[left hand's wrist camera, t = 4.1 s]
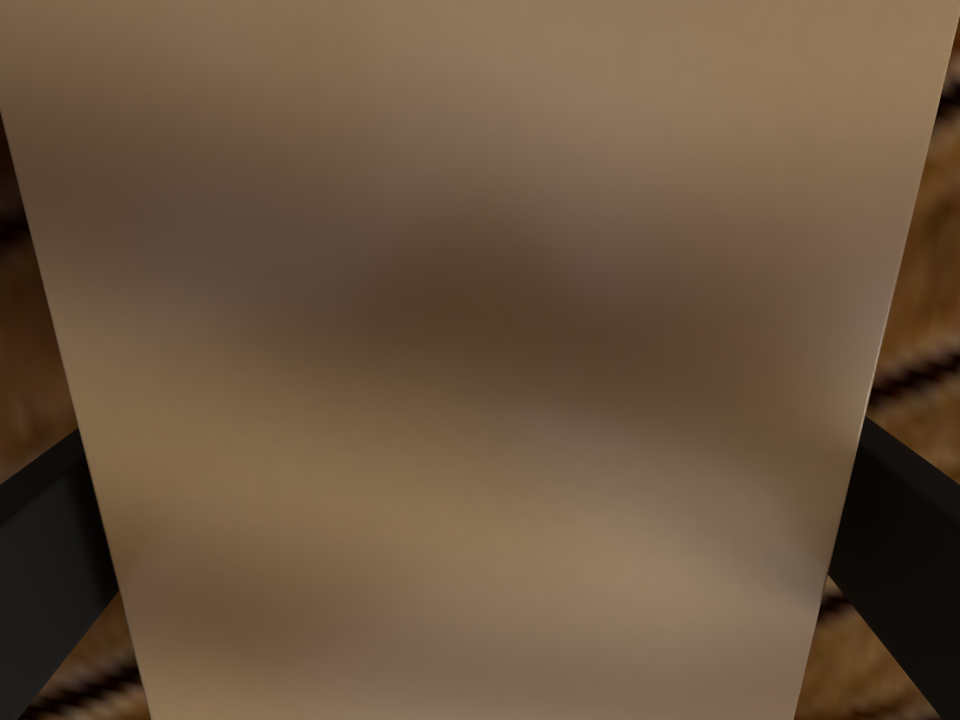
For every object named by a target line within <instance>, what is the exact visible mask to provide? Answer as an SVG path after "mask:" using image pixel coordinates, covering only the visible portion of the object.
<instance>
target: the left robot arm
mask: <svg viewBox="0 0 960 720" xmlns="http://www.w3.org/2000/svg"><path fill="white" fill-rule="evenodd" d="M828 575H829V576H830V577H831V579H832V580H833V581H834V582H835V584H836V585H837V586H838V588H839V589H840V590H841V591H842V593H843V594H844V595H845V596H846V598H847V599H848V600H849V601H850V603H851V604H852V605H853V607H854V608H855V609H856V610H857V612H858V613H859V614H860V615H861V617H862V618H863V619H864V620H865V622H866V623H867V624H868V626H869V627H870V628H871V629H872V631H873V632H874V633H875V634H876V636H877V637H878V638H879V639H880V641H881V642H882V643H883V644H884V646H885V647H886V648H887V650H888V651H889V652H890V653H891V655H892V656H893V657H894V658H895V660H896V661H897V662H898V663H899V665H900V666H901V667H902V669H903V670H904V671H905V672H906V674H907V675H908V676H909V677H910V679H911V680H912V681H913V682H914V684H915V685H916V686H917V688H918V689H919V690H920V691H921V693H922V694H923V695H924V696H925V698H926V699H927V700H928V701H929V703H930V704H931V705H932V707H933V708H934V709H935V710H936V712H937V713H938V714H939V715H940V717H941V718H942V719H943V720H960V485H959V484H958V483H956V482H955V481H954V480H952V479H951V478H949V477H948V476H947V475H945V474H944V473H943V472H941V471H940V470H939V469H937V468H936V467H934V466H933V465H932V464H930V463H929V462H928V461H926V460H925V459H923V458H922V457H921V456H919V455H918V454H917V453H915V452H914V451H913V450H911V449H910V448H908V447H907V446H906V445H904V444H903V443H902V442H900V441H899V440H898V439H896V438H895V437H893V436H892V435H891V434H889V433H888V432H887V431H885V430H884V429H883V428H881V427H880V426H878V425H877V424H876V423H874V422H873V421H872V420H870V419H869V418H868V417H866V416H865V418H864V422H863V427H862V431H861V435H860V439H859V444H858V448H857V452H856V456H855V460H854V465H853V469H852V473H851V477H850V482H849V486H848V490H847V494H846V499H845V503H844V507H843V511H842V516H841V520H840V524H839V528H838V532H837V537H836V541H835V545H834V549H833V554H832V558H831V562H830V566H829V571H828ZM118 591H119V588H118V584H117V580H116V576H115V572H114V568H113V564H112V560H111V556H110V552H109V548H108V544H107V540H106V536H105V532H104V528H103V524H102V520H101V516H100V512H99V508H98V503H97V499H96V495H95V491H94V487H93V483H92V479H91V475H90V471H89V467H88V463H87V459H86V455H85V451H84V447H83V443H82V439H81V435H80V431H79V428H77V429H76V430H75V431H73V432H72V433H71V434H69V435H68V436H67V437H65V438H64V439H62V440H61V441H60V442H58V443H57V444H56V445H54V446H53V447H52V448H50V449H49V450H47V451H46V452H45V453H43V454H42V455H41V456H39V457H38V458H37V459H35V460H34V461H32V462H31V463H30V464H28V465H27V466H26V467H24V468H23V469H21V470H20V471H19V472H17V473H16V474H15V475H13V476H12V477H11V478H9V479H8V480H6V481H5V482H4V483H2V484H1V485H0V720H17V719H18V718H19V717H20V715H21V714H22V713H23V712H24V710H25V709H26V708H27V707H28V705H29V704H30V703H31V701H32V700H33V699H34V698H35V696H36V695H37V694H38V693H39V691H40V690H41V689H42V688H43V686H44V685H45V684H46V682H47V681H48V680H49V679H50V677H51V676H52V675H53V674H54V672H55V671H56V670H57V669H58V667H59V666H60V665H61V663H62V662H63V661H64V660H65V658H66V657H67V656H68V655H69V653H70V652H71V651H72V650H73V648H74V647H75V646H76V644H77V643H78V642H79V641H80V639H81V638H82V637H83V636H84V634H85V633H86V632H87V631H88V629H89V628H90V627H91V626H92V624H93V623H94V622H95V620H96V619H97V618H98V617H99V615H100V614H101V613H102V612H103V610H104V609H105V608H106V607H107V605H108V604H109V603H110V601H111V600H112V599H113V598H114V596H115V595H116V594H117V593H118Z"/></svg>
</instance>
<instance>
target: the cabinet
mask: <svg viewBox="0 0 960 720" xmlns="http://www.w3.org/2000/svg"><path fill="white" fill-rule="evenodd" d="M959 16H960V0H0V112H1V116H2V120H3V124H4V128H5V133H6V137H7V141H8V145H9V149H10V153H11V157H12V161H13V165H14V169H15V173H16V177H17V181H18V185H19V189H20V193H21V197H22V201H23V205H24V209H25V213H26V217H27V221H28V225H29V229H30V233H31V237H32V241H33V245H34V249H35V253H36V258H37V262H38V266H39V270H40V274H41V278H42V282H43V286H44V290H45V294H46V298H47V302H48V306H49V310H50V314H51V318H52V322H53V326H54V330H55V334H56V338H57V342H58V346H59V350H60V354H61V358H62V362H63V366H64V370H65V374H66V378H67V383H68V387H69V391H70V395H71V399H72V403H73V407H74V411H75V415H76V419H77V423H78V427H79V431H80V435H81V439H82V443H83V447H84V451H85V455H86V459H87V463H88V467H89V471H90V475H91V479H92V483H93V487H94V491H95V495H96V499H97V503H98V508H99V512H100V516H101V520H102V524H103V528H104V532H105V536H106V540H107V544H108V548H109V552H110V556H111V560H112V564H113V568H114V572H115V576H116V580H117V584H118V588H119V592H120V596H121V600H122V604H123V608H124V612H125V616H126V620H127V624H128V628H129V633H130V637H131V641H132V645H133V649H134V653H135V657H136V661H137V665H138V669H139V673H140V677H141V681H142V685H143V689H144V693H145V697H146V701H147V705H148V709H149V713H150V717H151V720H793V719H794V715H795V710H796V706H797V702H798V698H799V693H800V689H801V685H802V681H803V676H804V672H805V668H806V664H807V660H808V655H809V651H810V647H811V643H812V638H813V634H814V630H815V626H816V621H817V617H818V613H819V609H820V604H821V600H822V596H823V592H824V588H825V583H826V579H827V575H828V571H829V566H830V562H831V558H832V554H833V549H834V545H835V541H836V537H837V532H838V528H839V524H840V520H841V516H842V511H843V507H844V503H845V499H846V494H847V490H848V486H849V482H850V477H851V473H852V469H853V465H854V460H855V456H856V452H857V448H858V444H859V439H860V435H861V431H862V427H863V422H864V418H865V414H866V410H867V405H868V401H869V397H870V393H871V388H872V384H873V380H874V376H875V372H876V367H877V363H878V359H879V355H880V350H881V346H882V342H883V338H884V333H885V329H886V325H887V321H888V316H889V312H890V308H891V304H892V300H893V295H894V291H895V287H896V283H897V278H898V274H899V270H900V266H901V261H902V257H903V253H904V249H905V244H906V240H907V236H908V232H909V228H910V223H911V219H912V215H913V211H914V206H915V202H916V198H917V194H918V189H919V185H920V181H921V177H922V172H923V168H924V164H925V160H926V156H927V151H928V147H929V143H930V139H931V134H932V130H933V126H934V122H935V117H936V113H937V109H938V105H939V101H940V96H941V92H942V88H943V84H944V79H945V75H946V71H947V67H948V62H949V58H950V54H951V50H952V45H953V41H954V37H955V33H956V29H957V24H958V20H959Z"/></svg>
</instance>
